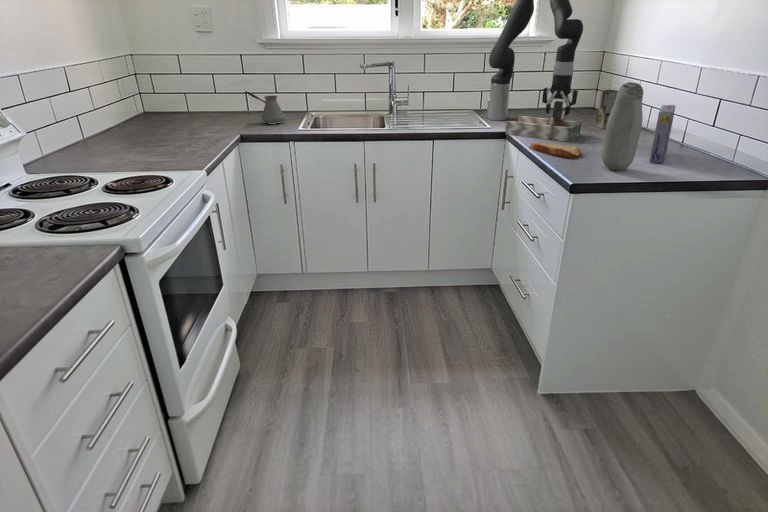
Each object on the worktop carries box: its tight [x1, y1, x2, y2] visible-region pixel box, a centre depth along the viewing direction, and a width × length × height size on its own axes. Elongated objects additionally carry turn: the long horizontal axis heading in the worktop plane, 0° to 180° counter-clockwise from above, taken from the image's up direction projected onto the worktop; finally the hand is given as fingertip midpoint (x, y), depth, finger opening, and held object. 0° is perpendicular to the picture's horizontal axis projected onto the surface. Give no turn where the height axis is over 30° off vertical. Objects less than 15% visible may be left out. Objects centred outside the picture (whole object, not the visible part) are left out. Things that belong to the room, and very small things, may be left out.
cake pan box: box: [649, 104, 676, 164], centre depth 175 cm, size 19×5×18 cm, turn 150°
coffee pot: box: [242, 90, 286, 123], centre depth 244 cm, size 21×12×15 cm, turn 68°
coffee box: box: [594, 89, 618, 130], centre depth 222 cm, size 9×6×16 cm
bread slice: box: [528, 142, 583, 159], centre depth 187 cm, size 18×18×4 cm
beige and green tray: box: [504, 111, 583, 143], centre depth 212 cm, size 28×17×9 cm, turn 54°
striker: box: [549, 100, 564, 127], centre depth 208 cm, size 2×12×11 cm, turn 144°
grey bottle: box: [601, 81, 644, 171], centre depth 160 cm, size 10×10×28 cm
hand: (557, 114), depth 208 cm, fingers open, 7 cm apart
